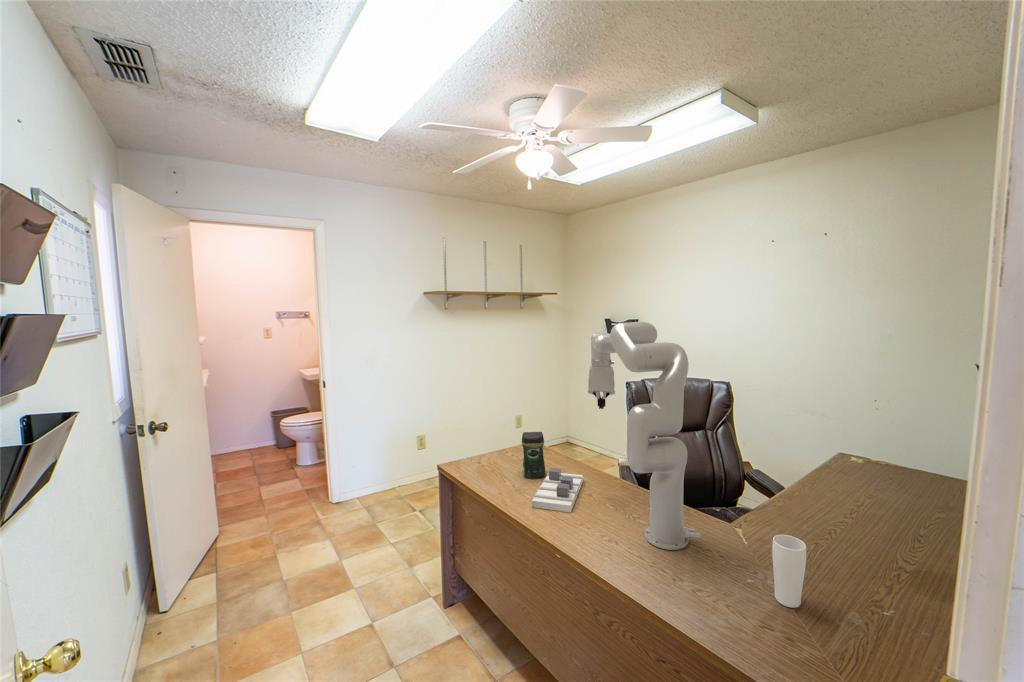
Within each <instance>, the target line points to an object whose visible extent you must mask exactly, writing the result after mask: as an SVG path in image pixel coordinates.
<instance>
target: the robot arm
mask: <svg viewBox="0 0 1024 682" xmlns="http://www.w3.org/2000/svg"><path fill="white" fill-rule="evenodd" d="M590 336H591V337H590V351H591V353H590V354H591V355H590V356H591V357H590V358H591V360H590V361H591V364H590V365H591V366H589V371H588V381H587V382H588V383H587V384H588V387H587V393H588V395H589V394H590V395H593V396H595V398H596V399H597V407H598V409H599V410H604V407H606V399H607V398H608V397H609V396H612V395H615V394H616V390H615V372H614V367H613V366H612V365H614V364H615V360H612V358H611V354H617V356H618V357H619V359H620V360H621V362H622V364H623V365H624V366H625V368H626V369H627V370H628V371H630V372H632V373H636V374H637V373H650V372H660V371H661V372H662V373H661V374H660V375H659V376H658V378H656V381H655V383H654V385H653V389H652V401H651V402H650V403H644V404H643V403H642V404H637V405H635V406H633V407H631V408H630V410H629V412H628V414H627V421H626V460H627V464H628V466H629V468H630V470H632V472H634V473H636V474H648V473H652V474H651V477H650V480H649V526H647V527H646V529H645V530H644V538H645V539H646V542H648V543H650V544H651V545H653V546H654V547H656V548H659V549H663V550H669V551H675V550H676V551H677V550H683V549H684V548H686V547H687V546H688V544H689V543H690V542H689V540H690V539H692V540H697V541H698V540H699V541H700V540H701V533H700V532H696V530H695V528H691V527H686V526H685V521H684V479H685V470H686V465H687V461H688V449H687V446H686V444H685V443H684V442H683V441H682V440H681V439H680V438H677V437H674V436H670V435H675V434H678V433H680V432H681V430H682V428H683V424H684V423H683V422H684V406H685V405H684V404H685V403H684V401H685V400H684V399H685V393H684V392H685V386H686V381H687V377H688V373H689V359H688V358H689V357H688V355H687V353H686V351H685V349H684V348H683V347H682V346H681V345H680V344H678V343H676V342H667V341H666V342H664V341H663V342H662V341H661V342H656V340H657V338H658V330H657V328H656V327H655V326H654V325H653V324H651V323H650V322H646V321H632V322H631V321H629V322H618V323H616V324H615V325H614V326H612V328H611V330H610V333H609V332H593V333H592V334H591V335H590ZM601 393H602V396H601Z"/></svg>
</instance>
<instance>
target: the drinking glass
mask: <svg viewBox="0 0 1024 682" xmlns="http://www.w3.org/2000/svg"><path fill="white" fill-rule="evenodd" d="M771 557H772V558H771V559H772V570H773V572H772V573H773V582H774V583H773V586H774V598H775V600H776V601H777V602H778V603H779V604H781V605H782V606H784V607H786V608H791V609H796V608H799V607H800V606H801V605H802V593H803V586H804V579H805V573H806V566H807V545H806V543H805V542H804V541H803V540H801V539H800V538H797V537H795V536H792V535H789V534H776V535H774V536H773V538H772V546H771Z"/></svg>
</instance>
